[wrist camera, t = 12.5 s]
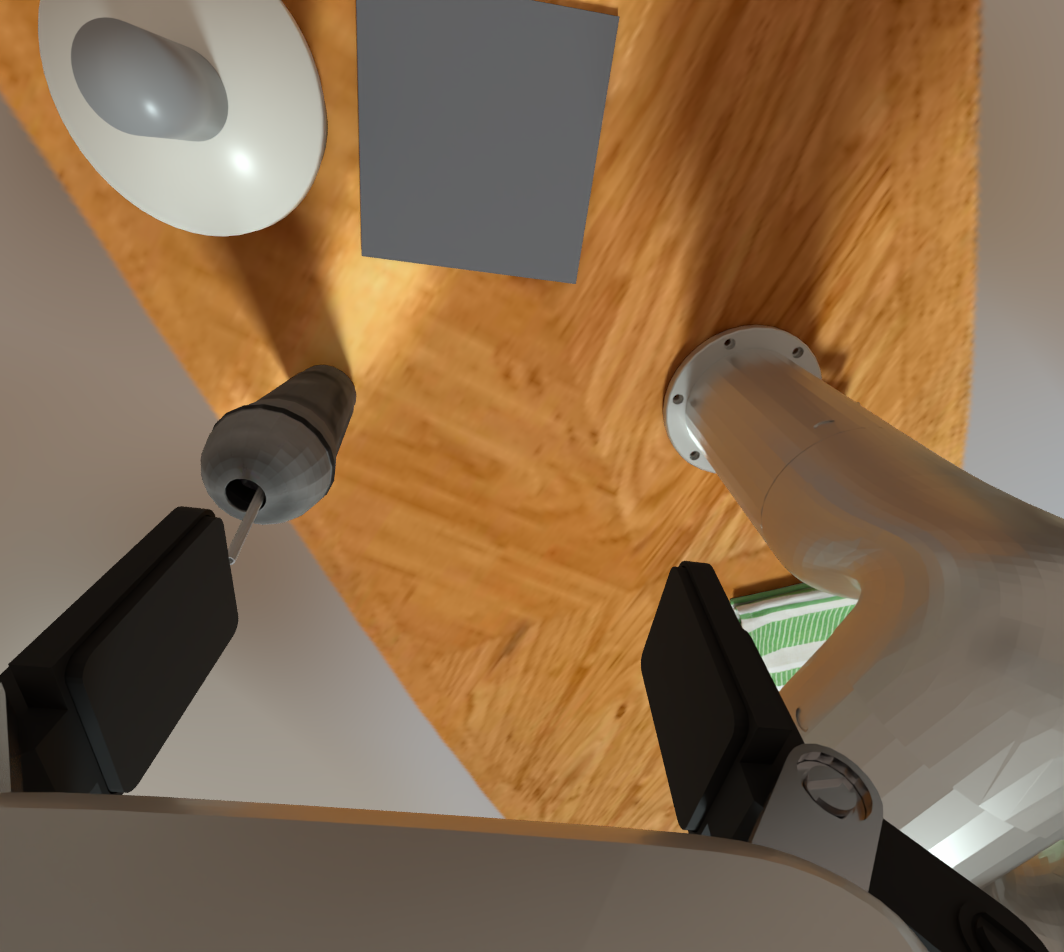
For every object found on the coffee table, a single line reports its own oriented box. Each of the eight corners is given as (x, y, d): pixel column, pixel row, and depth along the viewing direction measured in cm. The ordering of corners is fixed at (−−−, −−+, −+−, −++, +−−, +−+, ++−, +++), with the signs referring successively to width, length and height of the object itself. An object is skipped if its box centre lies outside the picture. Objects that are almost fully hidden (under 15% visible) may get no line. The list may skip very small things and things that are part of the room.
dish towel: (741, 731, 67) (750, 751, 64) (721, 596, 55) (731, 615, 53) (887, 698, 65) (901, 718, 63) (897, 553, 54) (915, 570, 51)
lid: (316, -50, 25) (268, -108, 20) (332, 247, 31) (299, 262, 26) (14, -104, 24) (-123, -181, 19) (94, 218, 30) (9, 228, 25)
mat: (617, 18, 32) (619, 16, 31) (574, 282, 39) (575, 283, 38) (357, -31, 30) (355, -33, 30) (363, 255, 37) (361, 255, 37)
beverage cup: (309, 326, 39) (159, 447, 22) (392, 387, 42) (316, 539, 25) (260, 397, 42) (90, 556, 24) (342, 451, 44) (240, 629, 27)
